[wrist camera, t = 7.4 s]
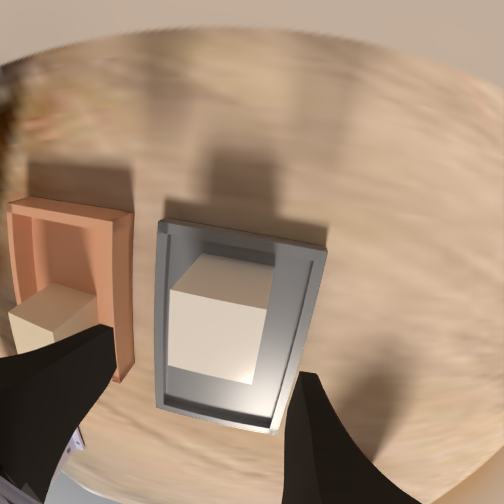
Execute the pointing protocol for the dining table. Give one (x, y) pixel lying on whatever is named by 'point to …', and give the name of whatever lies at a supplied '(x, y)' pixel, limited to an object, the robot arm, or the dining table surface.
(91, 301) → the tan cube
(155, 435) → the dining table surface
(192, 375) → the parts tray
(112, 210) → the terracotta dish
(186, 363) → the cream cube on tray
